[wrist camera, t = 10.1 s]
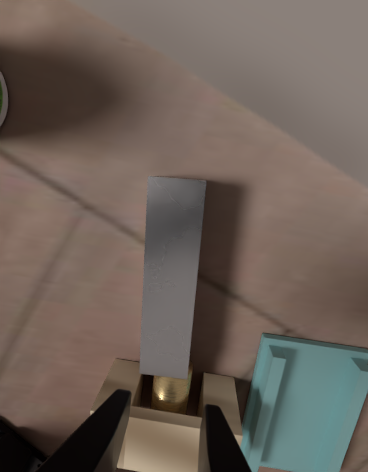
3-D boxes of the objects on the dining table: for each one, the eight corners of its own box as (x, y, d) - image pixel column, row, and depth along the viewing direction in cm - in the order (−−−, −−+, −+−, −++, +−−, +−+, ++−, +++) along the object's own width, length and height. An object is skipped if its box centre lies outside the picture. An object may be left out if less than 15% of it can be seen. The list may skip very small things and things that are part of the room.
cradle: (235, 454, 20) (238, 479, 18) (262, 333, 18) (268, 349, 16) (325, 470, 20) (336, 496, 18) (366, 348, 17) (383, 367, 16)
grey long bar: (189, 347, 19) (187, 379, 16) (149, 342, 19) (139, 373, 16) (206, 180, 16) (206, 180, 13) (158, 175, 16) (147, 176, 13)
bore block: (225, 421, 19) (231, 487, 15) (112, 402, 20) (88, 462, 16) (233, 377, 18) (242, 435, 14) (115, 358, 19) (90, 410, 15)
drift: (178, 452, 20) (175, 489, 18) (147, 446, 20) (140, 483, 18) (193, 355, 18) (192, 383, 16) (158, 349, 18) (151, 376, 16)
